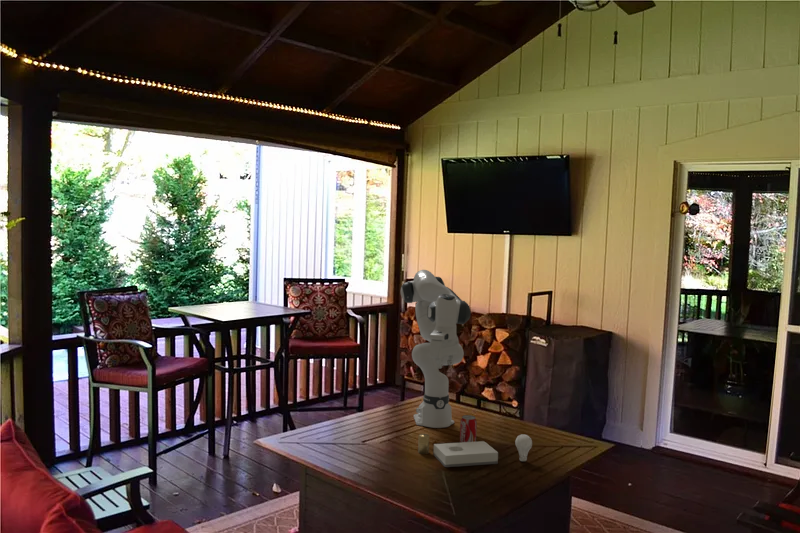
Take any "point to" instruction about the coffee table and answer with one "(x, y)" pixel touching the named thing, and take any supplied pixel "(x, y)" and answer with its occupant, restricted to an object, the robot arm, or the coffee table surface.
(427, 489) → the coffee table surface
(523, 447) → the light bulb
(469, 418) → the soda can
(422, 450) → the olive glossy cylinder
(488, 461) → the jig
